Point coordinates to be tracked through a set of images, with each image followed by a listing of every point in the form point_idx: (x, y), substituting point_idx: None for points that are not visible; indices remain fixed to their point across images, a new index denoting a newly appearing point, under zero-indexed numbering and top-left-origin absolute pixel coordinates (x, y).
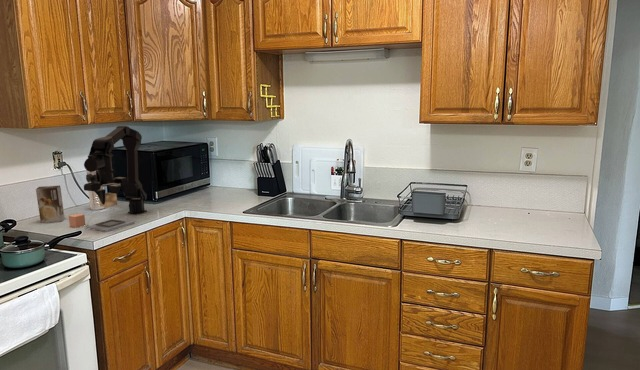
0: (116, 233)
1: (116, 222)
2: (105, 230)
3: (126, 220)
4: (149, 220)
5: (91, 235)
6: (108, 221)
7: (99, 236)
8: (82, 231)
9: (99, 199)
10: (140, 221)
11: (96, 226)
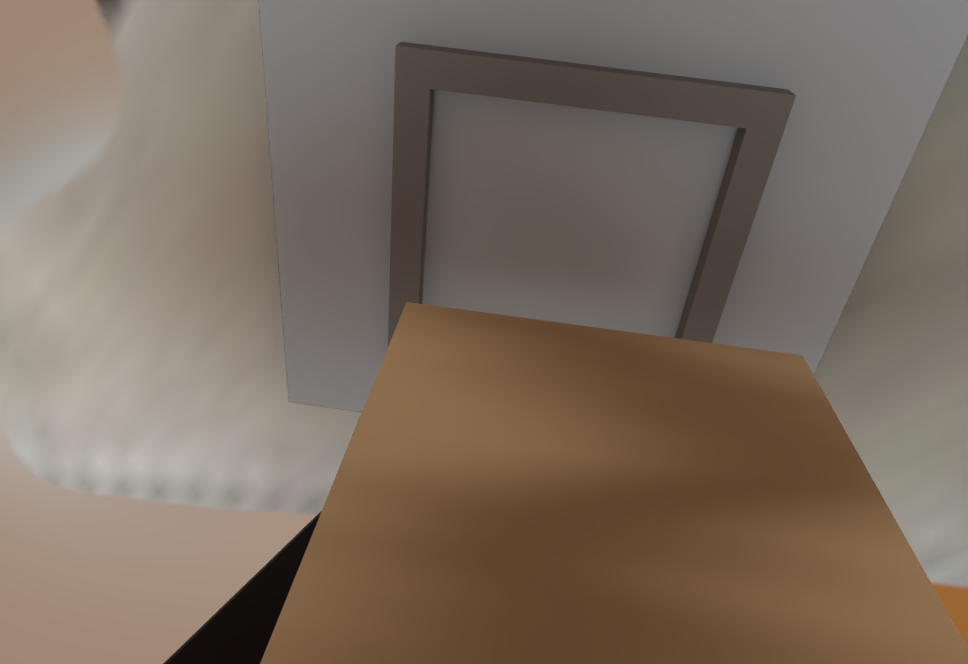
0: (312, 510)
1: (667, 268)
2: (291, 380)
3: (814, 336)
4: (926, 532)
5: (102, 320)
6: (661, 115)
7: (141, 427)
8: (119, 23)
9: (341, 473)
10: (866, 465)
11: (349, 124)
